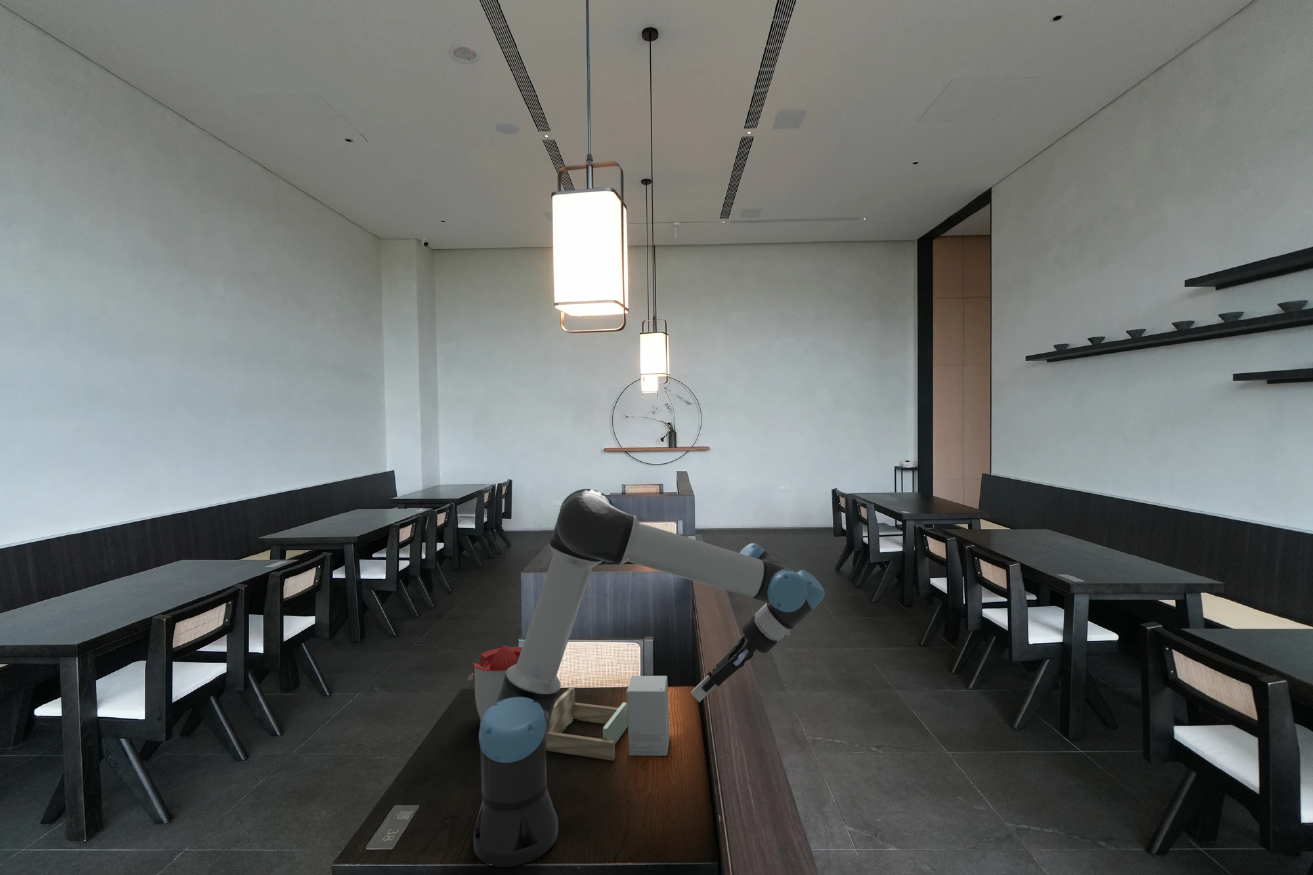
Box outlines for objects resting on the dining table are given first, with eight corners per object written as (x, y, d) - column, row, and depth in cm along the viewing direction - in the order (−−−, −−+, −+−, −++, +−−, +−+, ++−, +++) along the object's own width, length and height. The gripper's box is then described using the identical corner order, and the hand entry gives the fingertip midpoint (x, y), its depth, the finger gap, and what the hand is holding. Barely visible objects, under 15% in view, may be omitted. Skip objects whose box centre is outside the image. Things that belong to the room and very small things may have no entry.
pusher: (607, 754, 135) (606, 728, 134) (603, 754, 135) (602, 728, 135) (627, 726, 147) (626, 702, 147) (624, 725, 147) (623, 702, 147)
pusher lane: (613, 760, 133) (612, 725, 133) (541, 749, 138) (540, 715, 138) (637, 725, 148) (636, 694, 148) (571, 717, 153) (570, 686, 153)
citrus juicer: (480, 709, 160) (477, 635, 159) (544, 708, 159) (541, 634, 159) (458, 739, 144) (455, 658, 144) (529, 738, 143) (526, 657, 143)
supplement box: (670, 736, 142) (668, 674, 142) (667, 756, 134) (665, 691, 133) (633, 735, 143) (631, 674, 143) (627, 755, 134) (625, 690, 134)
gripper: (775, 652, 123) (700, 723, 128) (781, 631, 135) (713, 696, 141) (748, 625, 124) (676, 696, 130) (757, 607, 137) (690, 672, 142)
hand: (695, 696), depth 135 cm, fingers closed
